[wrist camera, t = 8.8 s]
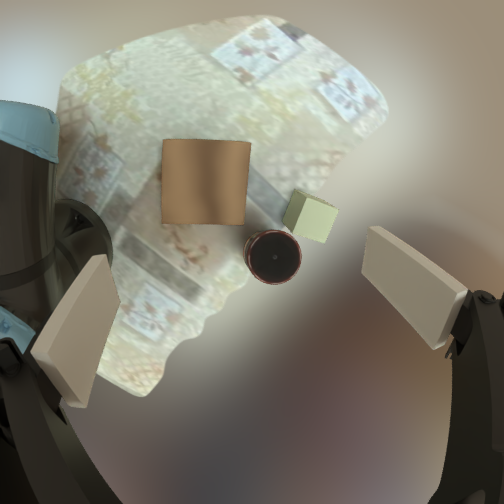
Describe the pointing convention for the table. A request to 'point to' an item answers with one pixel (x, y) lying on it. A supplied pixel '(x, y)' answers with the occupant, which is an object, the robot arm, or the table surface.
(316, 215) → the sage block
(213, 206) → the walnut block
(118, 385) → the table surface
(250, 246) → the supplement bottle
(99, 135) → the table surface
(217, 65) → the table surface
